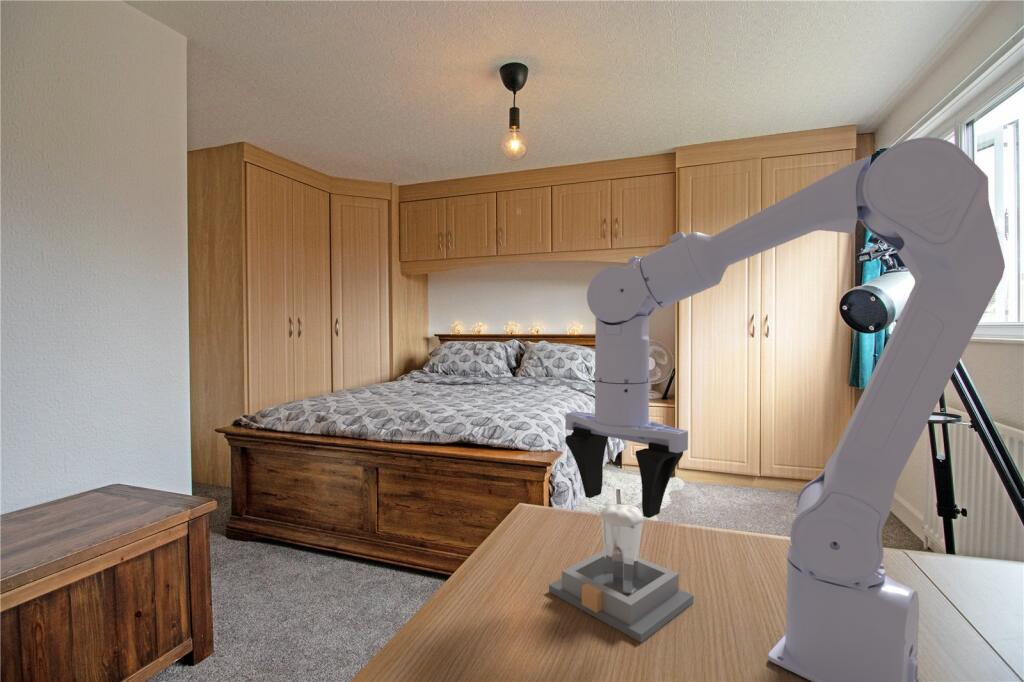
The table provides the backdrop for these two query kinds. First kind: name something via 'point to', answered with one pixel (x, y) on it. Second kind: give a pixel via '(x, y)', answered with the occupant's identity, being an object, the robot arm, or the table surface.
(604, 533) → the milkshake
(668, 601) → the box
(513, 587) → the table surface
